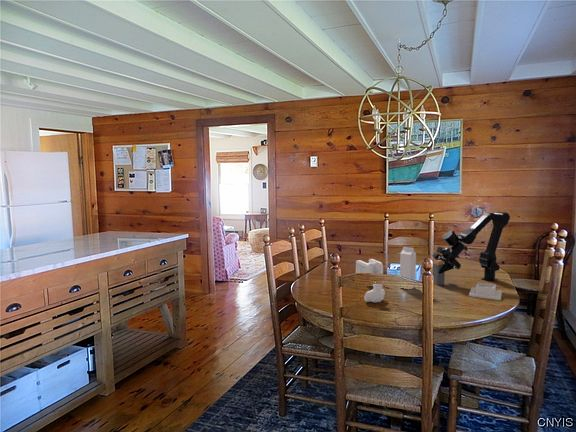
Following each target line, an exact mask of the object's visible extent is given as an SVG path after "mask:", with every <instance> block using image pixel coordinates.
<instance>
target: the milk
mask: <svg viewBox="0 0 576 432" xmlns="http://www.w3.org/2000/svg"><path fill="white" fill-rule="evenodd" d="M399 260H400V261H399V277H400V276H404V277H407V278H410V279H414V280H415V281H416V271H417V269H416V267H417V265H416V263H417V252H416V251H415V250H414V247H411V246H410V247H409V246H403V247H402V250H401V251H400V255H399Z"/></svg>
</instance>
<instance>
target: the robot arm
mask: <svg viewBox="0 0 576 432" xmlns="http://www.w3.org/2000/svg"><path fill="white" fill-rule="evenodd" d="M510 219H511V216H510V214H509V213H508V212H504V211H494V212H486V211H485V212H484V213H483V214H482V216H481V217H480V218H479V219H478V220H476V221H475V223H474V224H472V225H471V226H470V228H468V229H466V230H464V231H462V232H461V233H459V234H456V232H455V231H454V230H452V229H451V230H449V231H448V232H445V233H444V234H443V235H442V239H443V240H444V242H445V243H446V244H447V245H448V246H450V247H445V248H444V247H442V246H437V248H436V251H435V253H433V255H432V257H433V259H434V260H441V261H443V264H444V265H443V266H442V268H441V269H440V271H439V272H438V273H439V274H441V273H443V272H448V271H451V270H454V269H456V270H460V269H461V267H462V264H461V263H460V262H459V261H458V260H457V259H459V258H460V256H459V255H460V254H461V253H462V252H463V251H465V252H468V246H467V245H472V244H473V243H474V241H475V240H476V239H477V235H478V234H479V232H481V231H482V230H483V229H484V228H485V227H486V226H487V225H488V224H489V223H490V222H491V221H492V222H491V223H492V230H491V233H490V234H489V235H490V236H489V239H488V242H487V245H486V249H485V250H484V251H481V252H480V255H479V257H478V259H479V260H478V262H479V264H480V267H481V268H483V270H484V271H483V272H484V273H483V274H484V275H483V277H482V278H481V280H482V281H483V280H484V281H488V282H495V281H497V280H499V278H496V272H497V271H500V268H501V267H500V265H499V264H498V263H497V254H496V252H497V248H498V246H499V241H500V238H501V235H502V232H503V229H504V228H505V227H506V226H508V223H509V221H510Z"/></svg>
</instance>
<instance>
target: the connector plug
mask: <svg viewBox="0 0 576 432" xmlns="http://www.w3.org/2000/svg"><path fill="white" fill-rule="evenodd" d="M443 265H444V263H443V261H441V260H436V259H434V263H432V277H433V276H434V284H433V285H436V286H442V285H443V286H444V285H445V275H446V274H445V272H443V273H441V274H439V273H438V272H439V271H440V269H441V268H442V266H443Z"/></svg>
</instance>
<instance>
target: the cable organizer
mask: <svg viewBox="0 0 576 432" xmlns="http://www.w3.org/2000/svg"><path fill="white" fill-rule="evenodd" d="M356 273H371V274H383V275H384V265H383V262H381V261H379V260H376V259H374V258H369V259H368V262H365V261H364V260H361V259H358V260H355V274H356Z"/></svg>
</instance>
